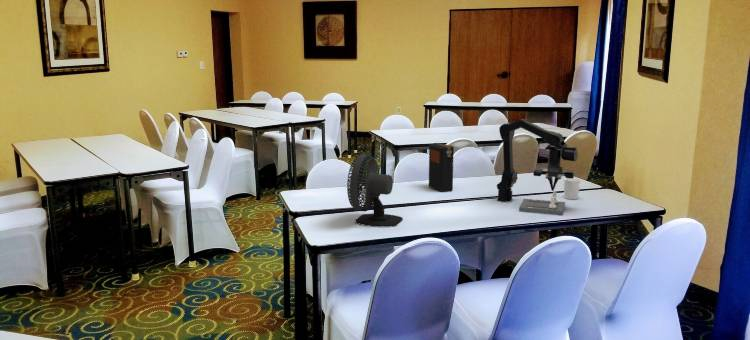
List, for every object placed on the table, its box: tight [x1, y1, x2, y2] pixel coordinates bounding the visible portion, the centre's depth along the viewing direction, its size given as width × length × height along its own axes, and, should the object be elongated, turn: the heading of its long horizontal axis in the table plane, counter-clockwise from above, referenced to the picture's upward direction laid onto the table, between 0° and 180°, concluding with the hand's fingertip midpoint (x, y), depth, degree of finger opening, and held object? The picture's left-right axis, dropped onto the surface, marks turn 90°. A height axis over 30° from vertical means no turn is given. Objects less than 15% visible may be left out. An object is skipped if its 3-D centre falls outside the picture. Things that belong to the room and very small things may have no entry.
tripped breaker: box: [552, 191, 559, 203], centre depth 295 cm, size 3×4×5 cm
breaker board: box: [518, 198, 566, 216], centre depth 293 cm, size 20×18×2 cm
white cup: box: [563, 177, 581, 200], centre depth 313 cm, size 8×8×10 cm
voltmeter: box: [428, 142, 455, 193], centre depth 332 cm, size 16×9×25 cm, turn 25°
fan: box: [346, 154, 404, 227], centre depth 271 cm, size 26×26×30 cm
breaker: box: [549, 195, 556, 208], centre depth 286 cm, size 3×4×5 cm
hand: (552, 190), depth 295 cm, fingers closed
